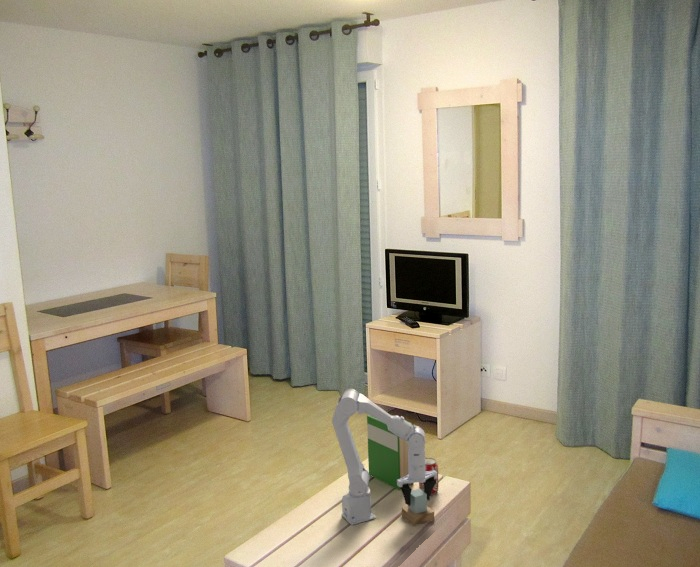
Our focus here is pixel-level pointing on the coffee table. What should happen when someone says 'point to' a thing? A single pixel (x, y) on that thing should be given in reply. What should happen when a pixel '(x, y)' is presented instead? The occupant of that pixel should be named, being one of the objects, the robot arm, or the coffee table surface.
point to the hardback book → (386, 453)
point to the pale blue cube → (418, 501)
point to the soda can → (430, 466)
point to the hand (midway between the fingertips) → (417, 501)
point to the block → (417, 516)
